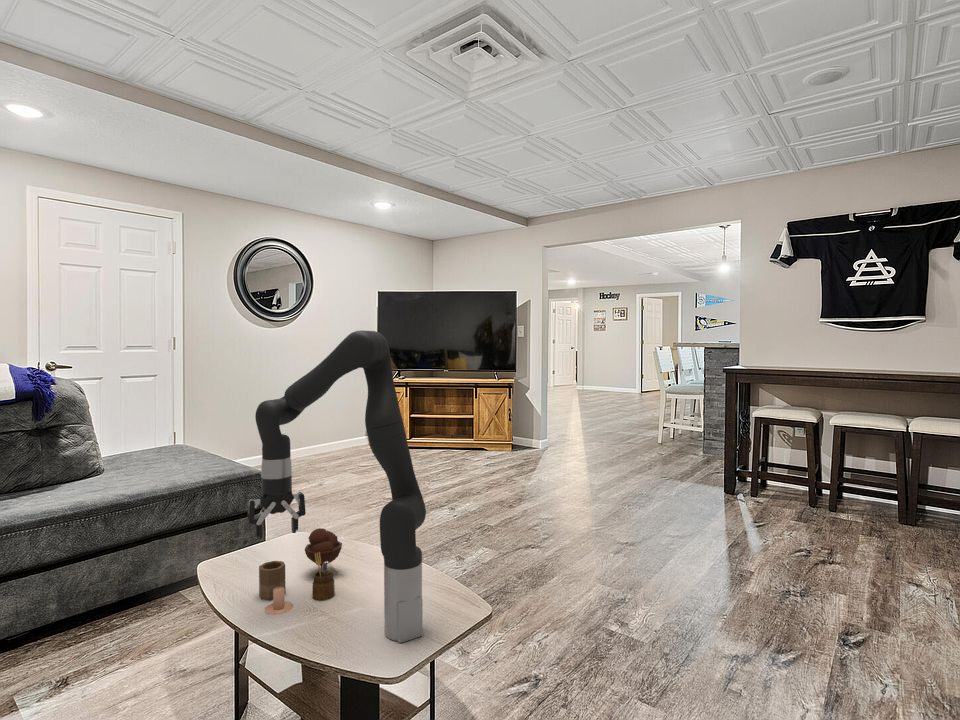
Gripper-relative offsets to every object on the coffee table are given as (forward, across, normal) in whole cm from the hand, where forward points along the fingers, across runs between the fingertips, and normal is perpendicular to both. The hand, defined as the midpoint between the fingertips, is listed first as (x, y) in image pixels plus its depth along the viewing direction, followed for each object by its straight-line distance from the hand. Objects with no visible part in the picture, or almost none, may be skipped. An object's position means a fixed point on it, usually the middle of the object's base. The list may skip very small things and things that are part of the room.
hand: (277, 535), depth 142 cm
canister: (+20, 0, +8) cm, 22 cm away
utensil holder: (+20, +12, 0) cm, 24 cm away
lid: (+20, 0, -1) cm, 20 cm away
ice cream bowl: (+20, +16, +14) cm, 30 cm away
